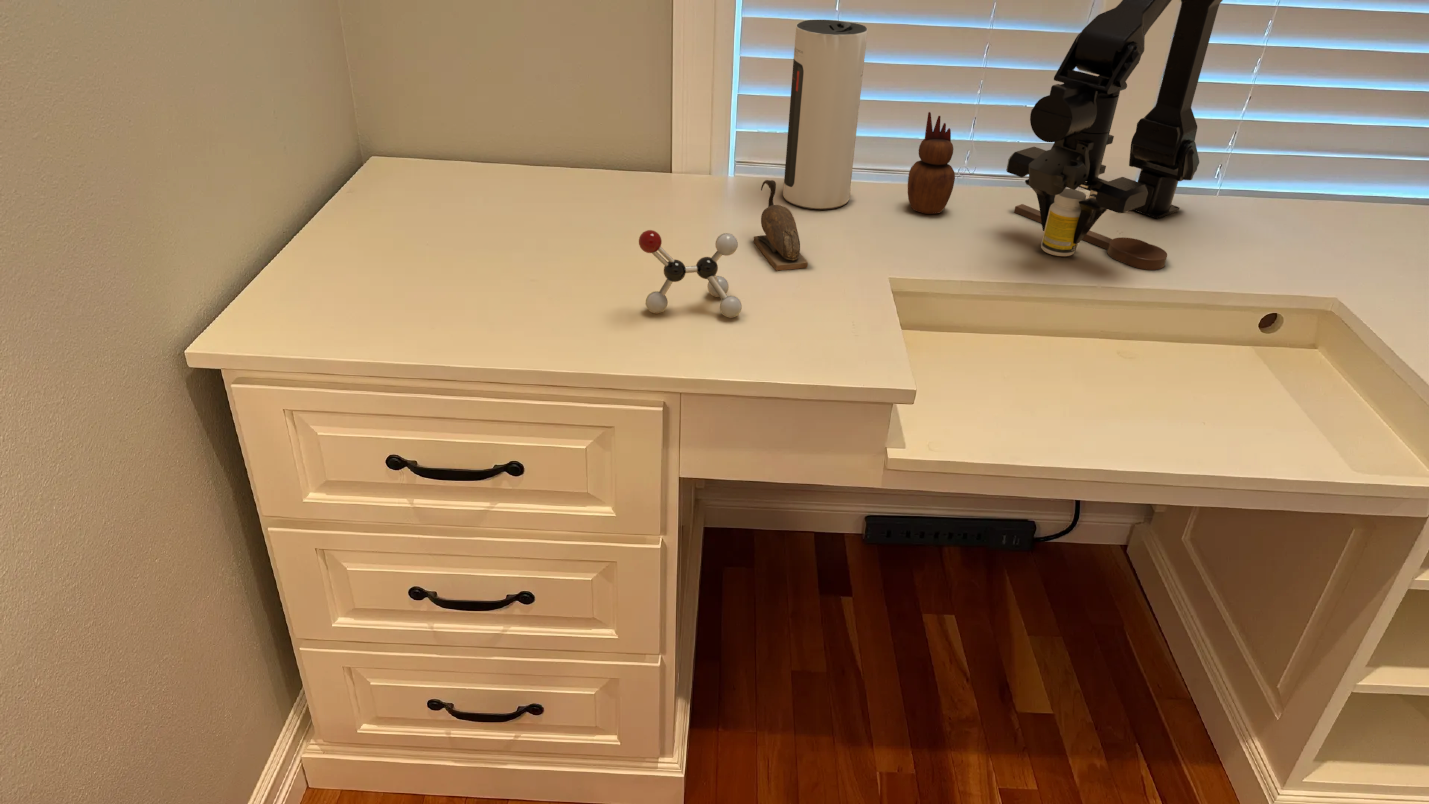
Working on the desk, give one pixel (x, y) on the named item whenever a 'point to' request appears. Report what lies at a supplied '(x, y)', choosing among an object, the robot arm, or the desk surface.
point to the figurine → (779, 235)
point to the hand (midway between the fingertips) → (1060, 236)
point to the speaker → (823, 112)
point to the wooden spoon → (1115, 245)
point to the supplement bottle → (1062, 223)
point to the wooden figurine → (932, 171)
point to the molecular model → (704, 269)
